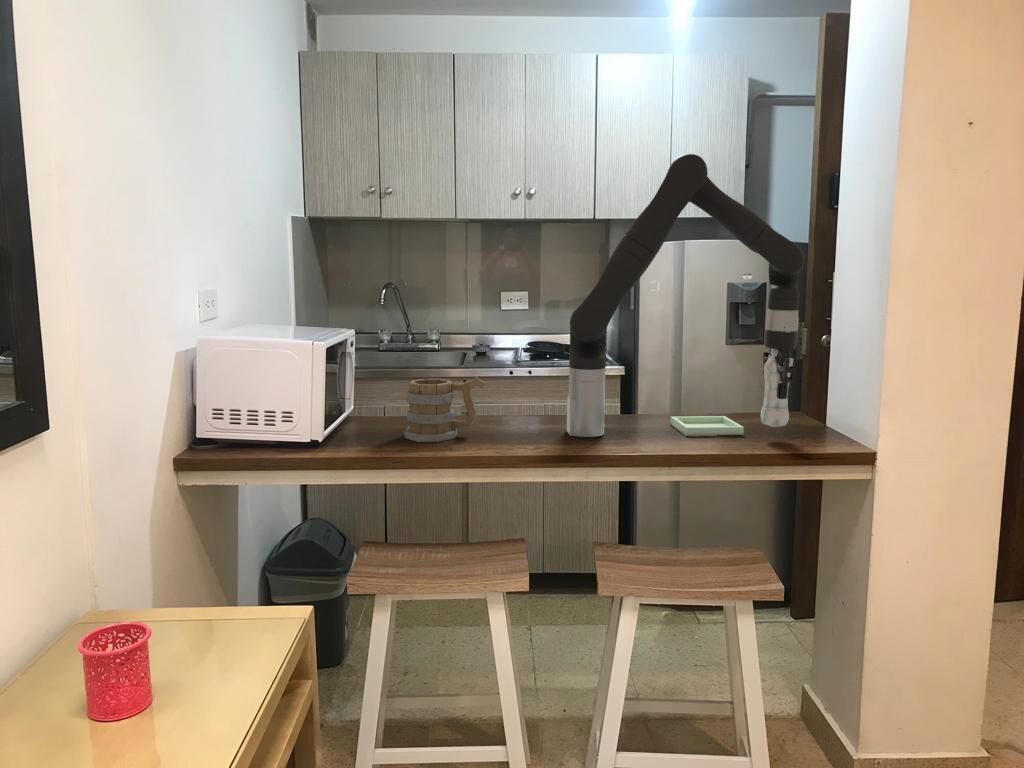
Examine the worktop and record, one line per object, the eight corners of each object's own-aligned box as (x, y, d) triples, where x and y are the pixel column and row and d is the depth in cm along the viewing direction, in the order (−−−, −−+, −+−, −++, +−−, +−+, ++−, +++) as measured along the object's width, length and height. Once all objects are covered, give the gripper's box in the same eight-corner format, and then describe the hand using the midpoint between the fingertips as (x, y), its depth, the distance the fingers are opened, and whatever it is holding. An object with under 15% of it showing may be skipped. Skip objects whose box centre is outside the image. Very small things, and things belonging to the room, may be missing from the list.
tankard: (402, 441, 180) (401, 381, 177) (409, 430, 192) (408, 373, 190) (483, 442, 180) (483, 381, 177) (486, 431, 192) (486, 374, 190)
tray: (685, 436, 187) (686, 427, 187) (670, 424, 201) (670, 416, 201) (743, 435, 188) (743, 427, 188) (724, 423, 202) (724, 416, 202)
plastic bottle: (792, 429, 180) (798, 348, 177) (764, 428, 180) (770, 347, 177) (782, 423, 186) (788, 345, 183) (755, 423, 186) (761, 344, 183)
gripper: (754, 325, 186) (750, 391, 189) (779, 331, 172) (773, 401, 175) (783, 326, 187) (778, 391, 189) (810, 331, 173) (804, 401, 175)
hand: (776, 396), depth 182 cm, fingers closed on plastic bottle, 6 cm apart
